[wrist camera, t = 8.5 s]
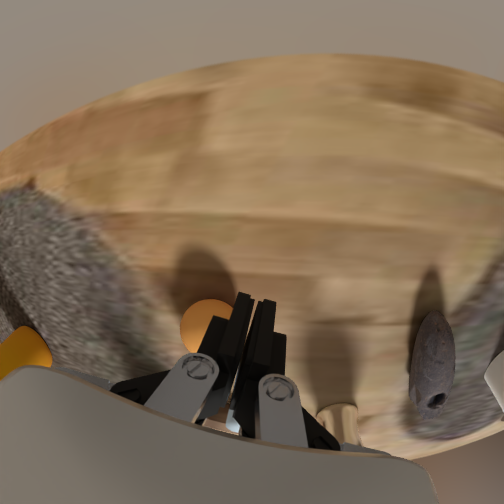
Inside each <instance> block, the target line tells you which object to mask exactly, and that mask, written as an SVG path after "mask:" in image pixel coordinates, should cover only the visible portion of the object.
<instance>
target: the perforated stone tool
mask: <svg viewBox="0 0 504 504" xmlns="http://www.w3.org/2000/svg"><path fill="white" fill-rule="evenodd" d="M455 358H456V357H455V344H454V338H453V334H452V330H451V327H450V326H449V324H448V322H447V320H446V319H445V318H444V316H443V315H442V314H441V313H439V312H438V311H437V310H436V311H431V312H430V313H429V314H428V315H427V316H426V317H425V319H424V320H423V322H422V324H421V326H420V328H419V331H418V334H417V337H416V341H415V345H414V351H413V357H412V363H411V371H410V376H409V397H410V399H411V400H412V401H413V403H414V404H415V405H416V406H417V409H418V411H419V413H420V414H421V416H422V418H423V419H431V418H432V419H433V418H437V417H439V416H440V415H441V412H442V411H443V409H444V407H445V405H446V403H447V400H448V398H449V395H450V392H451V388H452V384H453V379H454V373H455Z"/></svg>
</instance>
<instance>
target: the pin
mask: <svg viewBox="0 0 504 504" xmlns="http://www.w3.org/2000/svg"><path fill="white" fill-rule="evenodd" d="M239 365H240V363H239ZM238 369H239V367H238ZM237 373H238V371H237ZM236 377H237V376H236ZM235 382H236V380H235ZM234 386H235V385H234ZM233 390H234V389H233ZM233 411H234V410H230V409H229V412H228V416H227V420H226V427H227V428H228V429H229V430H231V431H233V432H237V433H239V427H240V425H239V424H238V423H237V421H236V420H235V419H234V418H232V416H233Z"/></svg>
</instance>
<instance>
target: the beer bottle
mask: <svg viewBox="0 0 504 504" xmlns="http://www.w3.org/2000/svg"><path fill="white" fill-rule="evenodd" d="M51 364H52V354H51V352H50V350H49V348H48V346H47V344H46V343H45V342H44V340H43V339H42V338H41V336H40V335H39V334H38V333H37V332H36V331H34V330H33V329H32V328H30V327H28V326H21V327H19V328H17V329H16V330H15V331H14V332H13V333H12V334H11V335H10V336H9V337H8V338H7V339H6V340H5V341H4V342H3V343H2V344H0V381H1V380H2V379H3V378H4V377H5V376H7V375H8V374H9V373H10V372H12V371H13V370H15V369H17V368H19V367H21V366H25V365H40V366H45V367H50V366H51Z"/></svg>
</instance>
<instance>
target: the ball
mask: <svg viewBox="0 0 504 504" xmlns="http://www.w3.org/2000/svg"><path fill="white" fill-rule="evenodd" d="M232 310H233V308H232V307H231V306H230V305H228V304H227V303H225V302H223V301H220V300H216V299H205V300H201V301H198V302H196V303H194V304H193V305H192V306H190V307H189V308H188V309H187V310H186V312H185V313H184V315H183V317H182V320H181V324H180V334H181V338H182V341H183V343H184V345H185V346H186V348H187V349H188V350H189V351H190V352H191V353H197V351H198V349H199V346H200V344H201V342H202V339H203V337H204V335H205V332H206V330H207V328H208V326H209V323H210V321H211V319H212V317H213V315H215V316H219V317H222V318H225V319H230V316H231V313H232Z"/></svg>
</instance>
